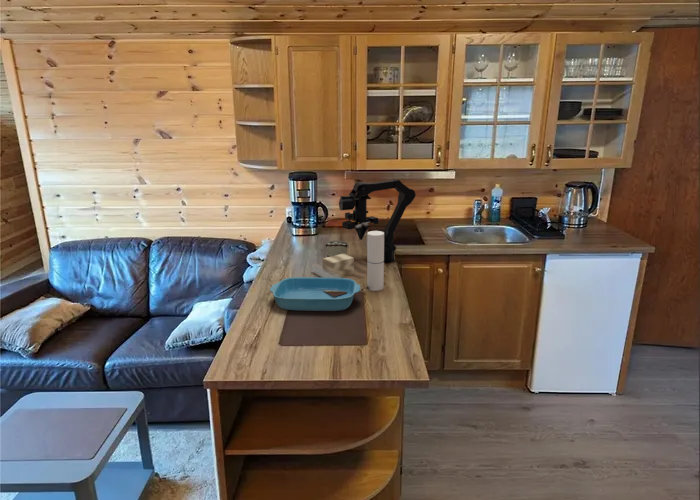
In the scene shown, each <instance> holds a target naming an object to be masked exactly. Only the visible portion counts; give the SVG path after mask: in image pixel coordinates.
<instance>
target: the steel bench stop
mask: <svg viewBox="0 0 700 500" xmlns="http://www.w3.org/2000/svg"><path fill="white" fill-rule="evenodd" d="M311 272H312V273H311V274H313V273H314V274H316V275H318V276H320V277H321V278H340V275H338V274H336V273H334V272H332V271H330V270H328V269H326V268H324V267H323V265H321V264H319V263H317V262H315V263H311ZM314 274H313V275H314ZM316 275H315V276H316ZM318 276H317V277H318Z"/></svg>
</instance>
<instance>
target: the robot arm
mask: <svg viewBox="0 0 700 500" xmlns="http://www.w3.org/2000/svg"><path fill="white" fill-rule="evenodd" d="M391 189H395V190H396V191H397V192H398V196H397V204H396V205H395V208H394V210H393V212H392V214H391V216H390V218H389V221H388V222H387V224H386V226H385V228H384V229H383V230H381V229H380V230H379V231H382V232H384V264H389V263H394V262H397V259H396V258H395V252H396V250H397V246H396V245H395V244H394V243H393V241H394V236H395V235H394V233H395V232H396V229H397V227H398V224H399V223H400V220H401V219H402V217H403V215H404V213H405V211H406V209H407V207H408V206H409V205H410V204H412V203H413V201H414V199H415V198H416V191H415V190H414V189H413V188H410V187H408V186H407V185H405V184H404V183H403V182H402V181H401V180H399V179H397V178H392V179H387V180H381V181H375V182H365V181H357V182H355V183H354V184H353V187H352V190H350V193H349V194H348V195H340V198H339V201H338V207H339V211H348V212H345V213H344V217H345V220H346V221H342V223H341V227H342V228H343V229H346V230H353V229H354V230H355V232H356V233H357V236H358V239H359V240H360V241H361V240H363V238H364V236H365V234H366V232H368V231H367V230H368V229H369V228H370V227H371V226H370V225H369V224H370V223H372V224H373V225H379V224H380V220H379V218H378V217H376V216H372V215H371V216H367V215H368V214H369V210H367V209H368V207H367V205H368V204H367V200H371V199H372V197H371V196H370V194H371V193H374V192H377V191H383V190H391ZM353 209H354V210H353ZM349 210H353V211H352V213H351V212H350V211H349Z"/></svg>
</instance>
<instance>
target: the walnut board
mask: <svg viewBox="0 0 700 500" xmlns="http://www.w3.org/2000/svg"><path fill="white" fill-rule="evenodd" d="M385 272H386V271H385V270H384V273H385ZM311 274H312V275H315V276H316V277H320V276H318V275H316V274H314V273H312V271H311ZM320 278H321V277H320ZM341 278H348V279H352V280H354V281H356V280H359V279H363V278H367V262H365V261H363V260H361V259H360V260H354V274H352V275H349V276H345V277H341Z"/></svg>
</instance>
